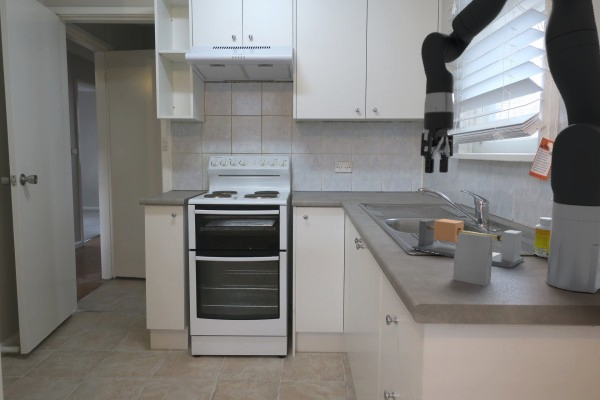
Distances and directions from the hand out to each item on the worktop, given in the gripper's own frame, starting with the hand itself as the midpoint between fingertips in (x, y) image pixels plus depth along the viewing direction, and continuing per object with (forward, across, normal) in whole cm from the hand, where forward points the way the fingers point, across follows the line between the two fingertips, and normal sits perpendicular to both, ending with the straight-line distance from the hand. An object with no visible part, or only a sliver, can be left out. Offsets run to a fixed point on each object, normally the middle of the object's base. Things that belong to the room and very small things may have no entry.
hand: (436, 172), depth 118 cm
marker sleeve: (+18, +3, -3) cm, 19 cm away
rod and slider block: (+22, +3, -8) cm, 23 cm away
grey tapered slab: (+22, -19, -18) cm, 35 cm away
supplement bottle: (+22, +19, -23) cm, 37 cm away
